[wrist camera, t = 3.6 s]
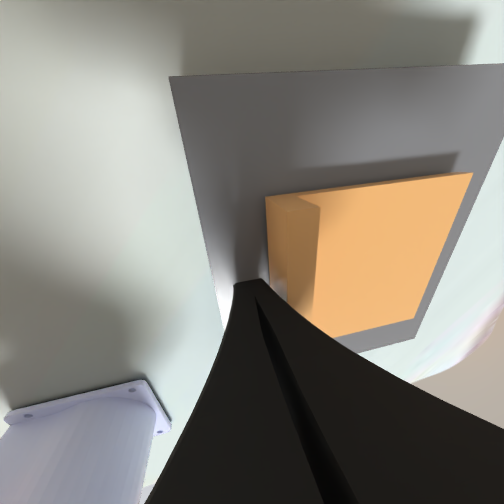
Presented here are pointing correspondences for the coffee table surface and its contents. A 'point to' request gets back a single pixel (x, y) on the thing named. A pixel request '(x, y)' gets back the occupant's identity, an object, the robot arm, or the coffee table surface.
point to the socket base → (329, 153)
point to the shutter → (360, 248)
